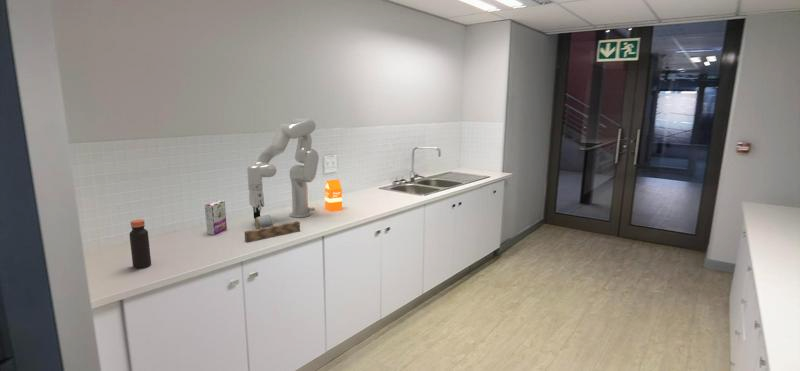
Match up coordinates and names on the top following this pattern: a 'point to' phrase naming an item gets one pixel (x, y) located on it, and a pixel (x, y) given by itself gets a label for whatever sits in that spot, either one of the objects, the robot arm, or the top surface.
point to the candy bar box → (215, 217)
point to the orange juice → (333, 195)
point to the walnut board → (271, 231)
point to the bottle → (139, 245)
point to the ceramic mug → (263, 221)
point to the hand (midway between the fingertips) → (257, 218)
